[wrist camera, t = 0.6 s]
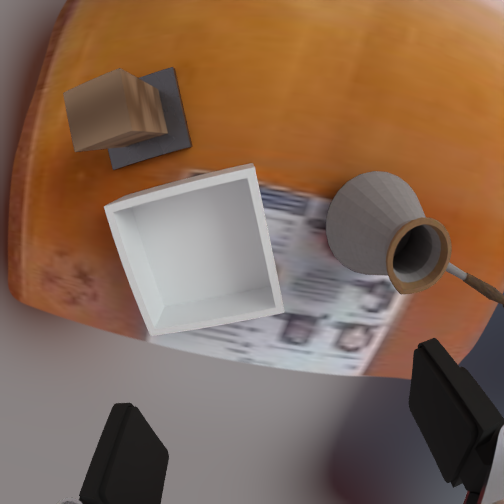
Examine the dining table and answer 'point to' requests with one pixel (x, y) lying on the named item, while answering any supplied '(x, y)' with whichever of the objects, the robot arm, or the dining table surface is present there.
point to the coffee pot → (392, 235)
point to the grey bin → (197, 251)
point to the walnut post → (113, 112)
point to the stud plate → (173, 118)
